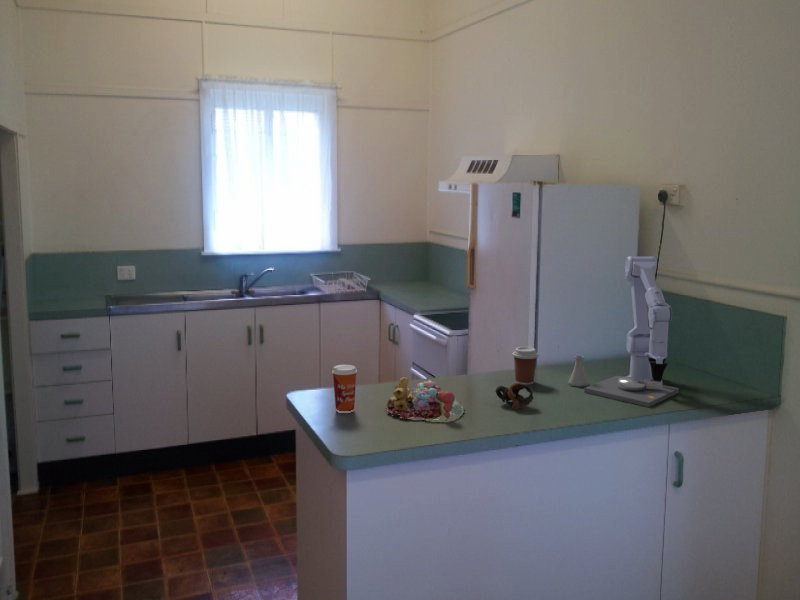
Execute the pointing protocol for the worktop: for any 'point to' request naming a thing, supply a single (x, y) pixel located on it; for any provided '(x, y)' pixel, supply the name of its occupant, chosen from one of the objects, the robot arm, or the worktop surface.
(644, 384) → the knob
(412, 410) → the candy landscape model
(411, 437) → the worktop surface
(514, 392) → the brown pretzel
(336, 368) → the paper cup
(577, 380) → the flask
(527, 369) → the coffee cup
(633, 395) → the base plate
